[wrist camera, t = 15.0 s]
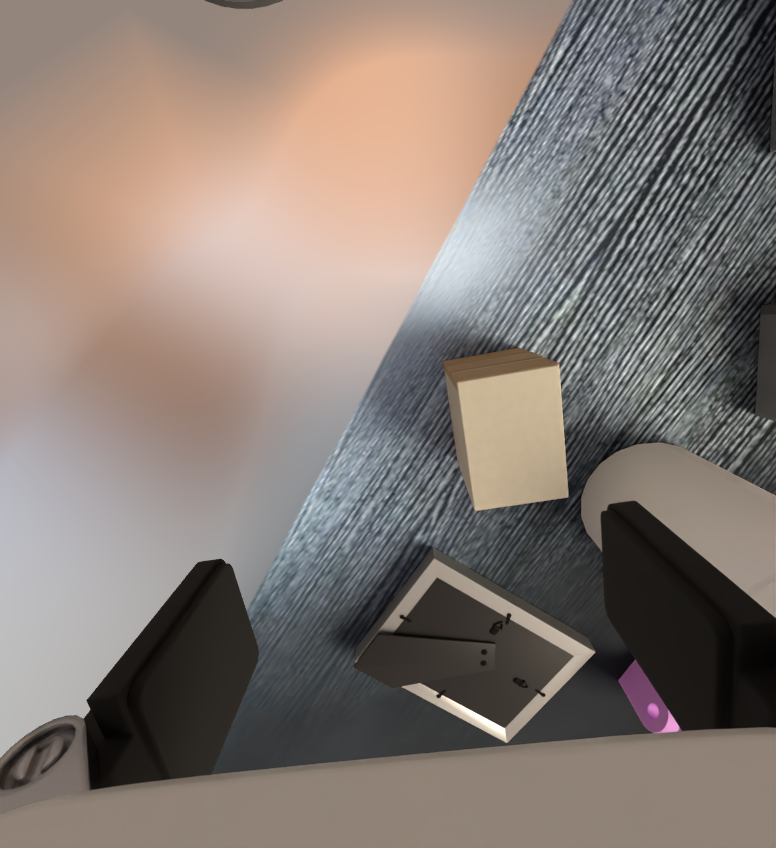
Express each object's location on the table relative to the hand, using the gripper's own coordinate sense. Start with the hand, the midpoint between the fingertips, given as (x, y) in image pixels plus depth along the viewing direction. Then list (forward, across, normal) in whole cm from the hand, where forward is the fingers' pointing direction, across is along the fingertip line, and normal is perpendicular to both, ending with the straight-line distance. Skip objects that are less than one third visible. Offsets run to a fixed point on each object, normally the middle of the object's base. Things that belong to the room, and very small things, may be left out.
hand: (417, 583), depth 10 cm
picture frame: (+31, -2, +31) cm, 44 cm away
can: (+31, -21, +16) cm, 40 cm away
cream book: (+23, -7, +4) cm, 25 cm away
